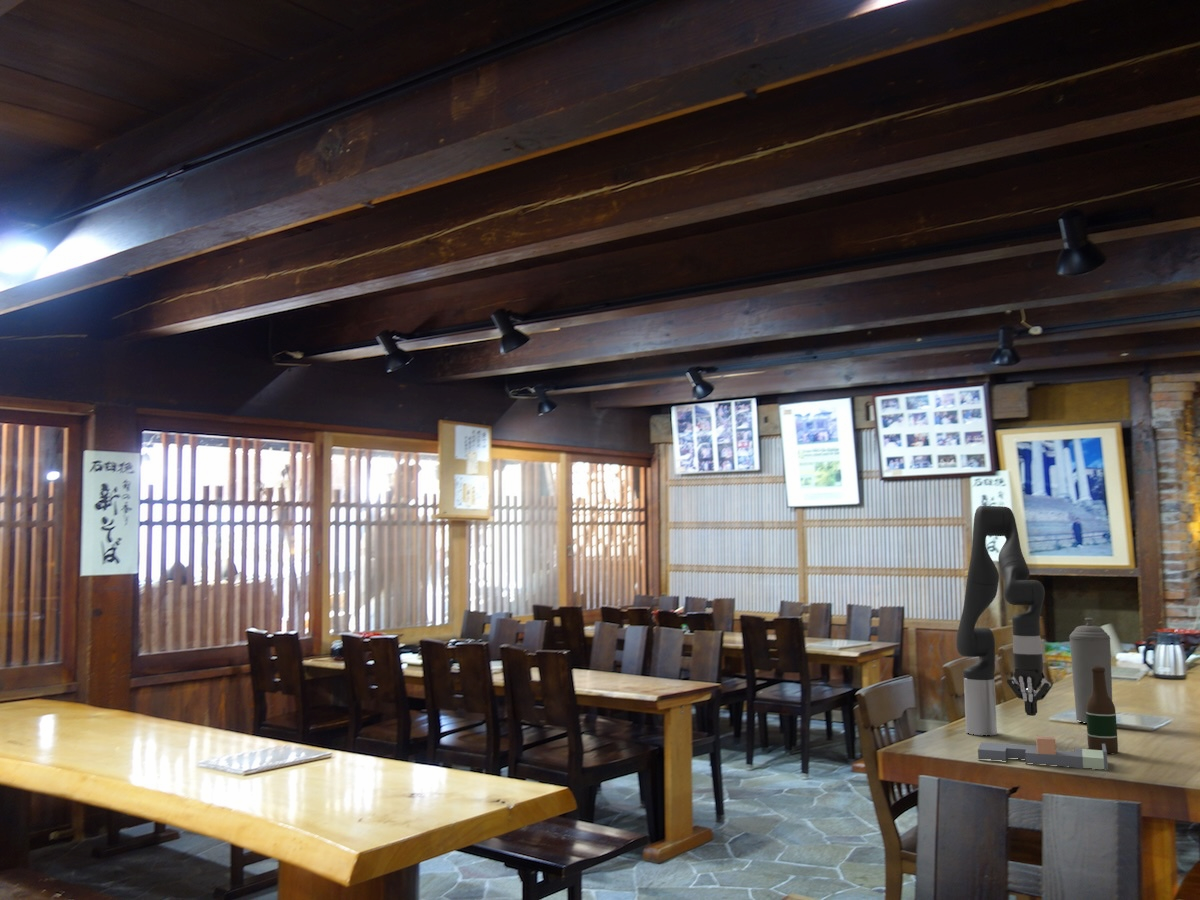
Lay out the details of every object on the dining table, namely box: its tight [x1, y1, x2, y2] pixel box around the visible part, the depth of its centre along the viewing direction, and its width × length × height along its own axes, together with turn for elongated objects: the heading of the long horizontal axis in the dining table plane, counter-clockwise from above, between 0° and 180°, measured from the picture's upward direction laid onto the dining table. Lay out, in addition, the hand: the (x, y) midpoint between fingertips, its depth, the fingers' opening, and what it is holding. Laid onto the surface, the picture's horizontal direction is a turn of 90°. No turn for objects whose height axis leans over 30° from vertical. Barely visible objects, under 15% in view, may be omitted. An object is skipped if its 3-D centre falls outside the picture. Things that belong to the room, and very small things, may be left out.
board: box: [977, 741, 1109, 771], centre depth 269 cm, size 12×32×5 cm, turn 65°
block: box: [1035, 735, 1057, 755], centre depth 266 cm, size 4×4×4 cm
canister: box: [1068, 617, 1113, 723], centre depth 331 cm, size 13×13×35 cm
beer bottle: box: [1086, 666, 1119, 754], centre depth 283 cm, size 8×8×24 cm
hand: (1031, 715), depth 272 cm, fingers closed
